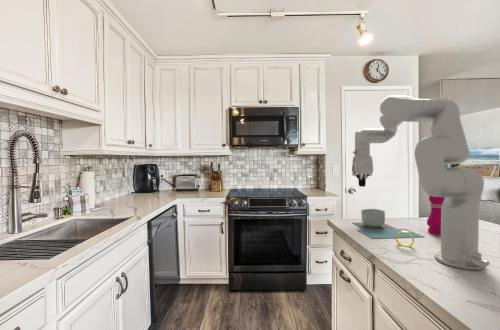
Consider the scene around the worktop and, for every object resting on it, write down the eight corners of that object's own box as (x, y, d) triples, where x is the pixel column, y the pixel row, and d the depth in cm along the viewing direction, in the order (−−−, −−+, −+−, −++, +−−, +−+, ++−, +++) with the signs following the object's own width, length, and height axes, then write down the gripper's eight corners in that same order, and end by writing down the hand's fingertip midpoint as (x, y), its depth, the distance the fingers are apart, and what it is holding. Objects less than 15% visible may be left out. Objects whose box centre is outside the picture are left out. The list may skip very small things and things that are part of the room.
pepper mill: (439, 230, 116) (440, 188, 116) (450, 235, 109) (451, 190, 109) (423, 230, 117) (423, 188, 117) (433, 235, 110) (433, 190, 109)
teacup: (382, 230, 117) (383, 213, 116) (358, 226, 123) (358, 211, 123) (387, 224, 128) (387, 208, 127) (364, 221, 134) (365, 206, 134)
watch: (413, 247, 97) (415, 232, 96) (412, 249, 94) (414, 234, 94) (396, 242, 100) (397, 228, 100) (394, 244, 98) (396, 230, 98)
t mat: (424, 237, 107) (424, 236, 107) (372, 238, 105) (372, 238, 105) (388, 222, 132) (388, 221, 132) (345, 223, 130) (345, 223, 130)
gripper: (352, 153, 131) (352, 187, 131) (379, 153, 132) (379, 186, 133) (345, 153, 138) (345, 185, 139) (371, 153, 140) (371, 185, 140)
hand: (362, 186), depth 136 cm, fingers closed
